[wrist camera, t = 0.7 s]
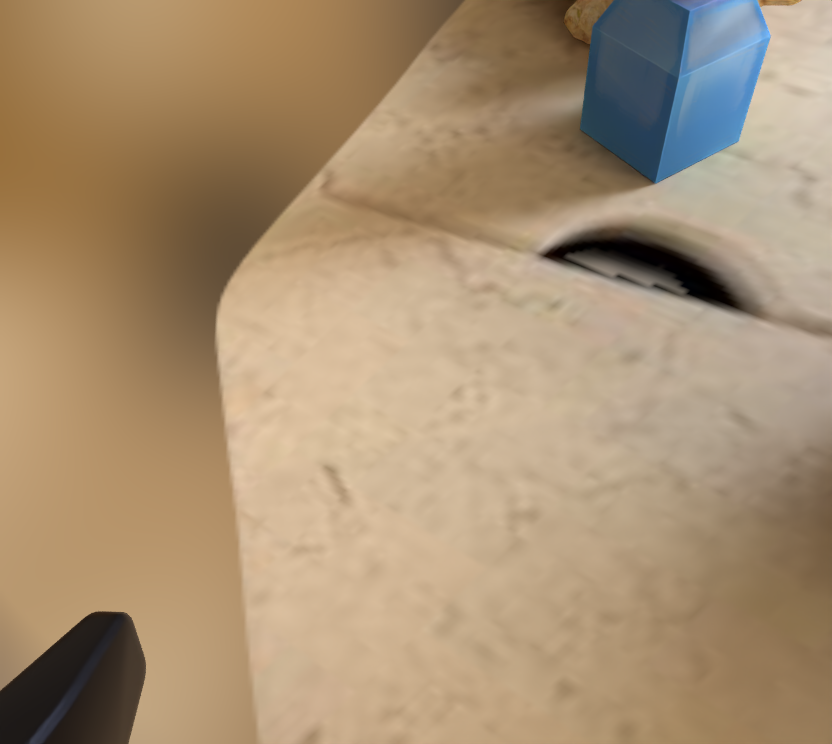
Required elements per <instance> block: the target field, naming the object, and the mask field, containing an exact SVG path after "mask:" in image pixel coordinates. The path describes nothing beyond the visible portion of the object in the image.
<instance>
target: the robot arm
mask: <svg viewBox="0 0 832 744" xmlns="http://www.w3.org/2000/svg"><path fill="white" fill-rule="evenodd" d="M145 673H146V662H145V657H144V654H143V651H142V648H141V644H140V641H139V638H138V636H137V632H136V629H135V626H134V623H133V620H132V618H131V617H130V616H129V615H128V614H127V613H124V612H94V613H91V614H89V615H88V616H86V617H85V618H84V619H83V620H81V621H80V622H79V623H78V624H77V625H76V626H74V627H73V628H72V629H71V630H70V631H69V632H67V633H66V634H65V635H64V636H63V637H62V638H61V639H59V640H58V641H57V642H56V643H55V644H54V645H52V646H51V647H50V648H49V649H48V650H47V651H46V652H44V653H43V654H42V655H41V656H40V657H39V658H37V659H36V660H35V661H34V662H33V663H32V664H31V665H29V666H28V667H27V668H26V669H25V670H24V671H22V672H21V673H20V674H19V675H18V676H17V677H16V678H14V679H13V680H12V681H11V682H10V683H9V684H8V685H6V686H5V687H4V688H3V689H2V690H1V691H0V744H128V743H129V739H130V735H131V731H132V727H133V723H134V719H135V716H136V712H137V708H138V704H139V699H140V696H141V692H142V688H143V684H144V680H145Z"/></svg>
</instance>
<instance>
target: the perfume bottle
mask: <svg viewBox="0 0 832 744" xmlns="http://www.w3.org/2000/svg"><path fill="white" fill-rule="evenodd" d="M770 37H771V35H770V33H769V30H768V27H767V25H766V22H765V19H764V17H763V14H762V11H761V9H760V6H759V3H758V1H757V0H613V2H612V3H611V4H610V5H609V7H608V8H607V9H606V10H605V12H604V13H603V14H602V15H601V16H600V18H599V19H598V20H597V21H596V23H595V24H594V25H593V27H592V35H591V43H590V51H589V60H588V68H587V76H586V84H585V92H584V101H583V109H582V117H581V125H580V129H581V130H582V131H583V132H585V133H586V134H588V135H589V136H590V137H592V138H593V139H595V140H596V141H597V142H599V143H600V144H601V145H603V146H604V147H606V148H607V149H608V150H610V151H611V152H613V153H614V154H615V155H617V156H618V157H619V158H621V159H622V160H624V161H625V162H626V163H628V164H629V165H631V166H632V167H633V168H635V169H636V170H638V171H639V172H640V173H642V174H643V175H644V176H646V177H647V178H649V179H650V180H651V181H653V182H654V183H657V182H659V181H661V180H663V179H665V178H667V177H669V176H671V175H673V174H675V173H677V172H679V171H681V170H683V169H685V168H687V167H689V166H691V165H693V164H695V163H697V162H699V161H701V160H703V159H704V158H706V157H708V156H710V155H712V154H714V153H716V152H718V151H720V150H722V149H724V148H726V147H728V146H730V145H732V144H734V143H736V142H738V141H739V138H740V134H741V131H742V128H743V125H744V121H745V118H746V115H747V112H748V108H749V105H750V102H751V98H752V95H753V92H754V89H755V85H756V82H757V79H758V76H759V72H760V69H761V66H762V63H763V59H764V56H765V53H766V50H767V46H768V43H769V40H770Z"/></svg>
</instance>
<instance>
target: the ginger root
mask: <svg viewBox="0 0 832 744" xmlns="http://www.w3.org/2000/svg"><path fill="white" fill-rule="evenodd" d="M757 1H758V3H759V6H760V7H761V6H763V5H794V4H796V3H798V2H800V1H801V0H757ZM612 2H613V0H576V2H575V3H574V4H573V5H572V6H571V7H570V8H569V9H568V10H567V12H566V15H565V17H564V24H565V25H566V27H567V28H568V30H569V31H570V33H571V34H572V35H573V37H574V38H577V39H579V40H582V41H584V42H585V43H588V44H590V43H591V35H592V27H593V25H594V24H595V23H596V21H597V20H598V19H599V18H600V16H601V15H602V14H603V13H604V12H605V10H606V9H607V8H608V7H609V5H610V4H611V3H612Z"/></svg>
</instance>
